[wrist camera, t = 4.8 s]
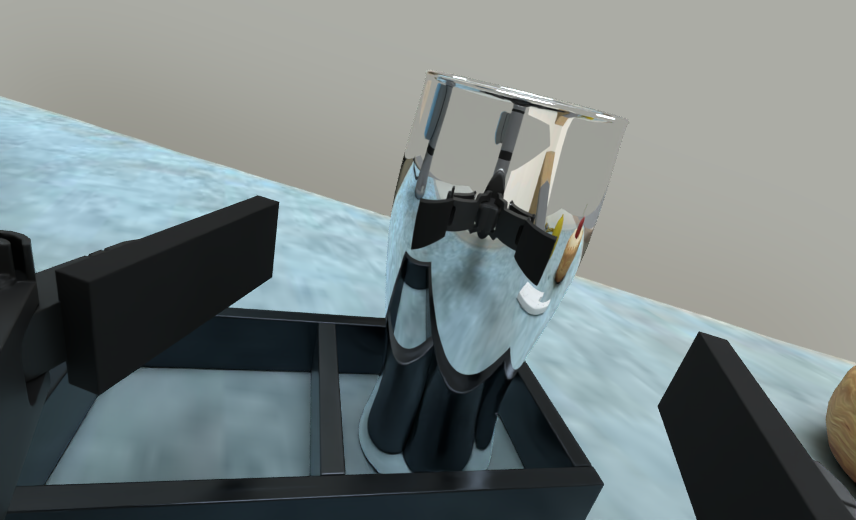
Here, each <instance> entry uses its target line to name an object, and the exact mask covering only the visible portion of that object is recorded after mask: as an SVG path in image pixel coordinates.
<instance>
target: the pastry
mask: <svg viewBox="0 0 856 520" xmlns="http://www.w3.org/2000/svg"><path fill="white" fill-rule="evenodd" d="M826 427H827V436H828V443H829V446H830V449H831V452H832V453H833V455H834V457H835V458H836V460H837V461H838V463H839V464H840V466H841V467H842V469H843V470H844V471H845V472H846V473H847V475H848V476H849V477H850V478H851V479H852V480H853V481H854V482H855V483H856V366H854V367H852V368H851V369H850V370H849V371H848V372H847V374H846V375H845V376H844V378H843V379H842V381H841V382H840V384H839V385H838V386H837V388H836V389H835V390H834V392H833V394H832V396H831V398H830V400H829V403H828V408H827V413H826Z"/></svg>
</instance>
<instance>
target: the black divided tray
mask: <svg viewBox="0 0 856 520" xmlns="http://www.w3.org/2000/svg"><path fill="white" fill-rule="evenodd" d="M384 347H385V318H375V317H360V316H345V315H331V314H316V313H302V312H287V311H272V310H258V309H243V308H229V307H228V308H226V309H225V310H223V311H222V312H220V313H219V314H217V315H216V316H214V317H213V318H211V319H210V320H209V321H207V322H206V323H204V324H203V325H201V326H200V327H198V328H197V329H195V330H194V331H192V332H191V333H190V334H188V335H187V336H185V337H184V338H182V339H181V340H179V341H178V342H176V343H175V344H173V345H172V346H171V347H169V348H168V349H166V350H165V351H163V352H162V353H160V354H159V355H157V356H156V357H154V358H153V359H151V360H150V361H149V362H147V363H146V364H144V365H143V366H151V367H183V368H214V369H246V370H277V371H309V372H311V427H310V476H300V477H271V478H242V479H212V480H183V481H154V482H124V483H95V484H66V485H44V484H45V482H46V481H47V479H48V477H49V476H50V474H51V472H52V471H53V469H54V467H55V466H56V464H57V462H58V461H59V459H60V457H61V456H62V454H63V452H64V451H65V449H66V447H67V446H68V444H69V442H70V441H71V439H72V437H73V435H74V434H75V432H76V430H77V429H78V427H79V425H80V424H81V422H82V420H83V419H84V417H85V415H86V414H87V412H88V410H89V409H90V407H91V405H92V404H93V402H94V400H95V399H96V397H97V395H96V394H94V393H91V392H89V391H86V390H84V389H81V388H79V387H76V386H74V385H71V384H69V382H68V373H67V365H66V361H65V362H63V363H61V364H60V365H58V366H56V367H54V368H53V369H51V370H49V373H50V387H49V390H48V393H47V396H46V399H45V402H44V405H43V408H42V411H41V414H40V417H39V420H38V423H37V426H36V429H35V431H34V434H33V437H32V440H31V443H30V446H29V449H28V452H27V455H26V458H25V461H24V464H23V467H22V470H21V473H20V476H19V479H18V482H17V484H16V487H15V490H14V493H13V496H12V499H11V502H10V505H9V508H8V511H7V514H6V517H5V520H585V519H586V517H587V515H588V514H589V512H590V510H591V508H592V506H593V504H594V502H595V501H596V499H597V497H598V495H599V493H600V491H601V489H602V488H603V486H604V483H603V481H602V480H601V478H600V477H599V475H598V474H597V472H596V470H595V469H594V467H592V465H591V463H590V462H589V460H588V458H587V457H586V455H585V454H584V452H583V451H582V449H581V447H580V446H579V444H578V443H577V441H576V440H575V438H574V437H573V435H572V433H571V432H570V430H569V429H568V427H567V426H566V424H565V422H564V421H563V419H562V418H561V416H560V415H559V413H558V411H557V410H556V408H555V407H554V405H553V404H552V402H551V401H550V399H549V397H548V396H547V394H546V393H545V391H544V390H543V388H542V386H541V385H540V383H539V382H538V380H537V379H536V377H535V375H534V374H533V372H532V371H531V369H530V368H529V366H528V365H527V363H526V361H524V362H523V364H522V365H521V367H520V368H519V370H518V372H517V373H516V375H515V377H514V378H513V380H512V382H511V383H510V385H509V387H508V389H507V391H506V394H505V396H504V398H503V400H502V402H501V405H500V409H499V412H498V413H499V415H500V417H501V419H502V421H503V423H504V426H505V428H506V430H507V432H508V434H509V436H510V438H511V440H512V442H513V444H514V446H515V448H516V450H517V453H518V455H519V457H520V459H521V461H522V463H523V465H524V467H525V469H505V470H476V471H446V472H417V473H388V474H359V475H345V460H344V445H343V431H342V417H341V402H340V388H339V373H338V372H341V373H372V374H380V370H381V366H382V361H383V354H384Z"/></svg>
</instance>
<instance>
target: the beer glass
mask: <svg viewBox="0 0 856 520" xmlns="http://www.w3.org/2000/svg"><path fill="white" fill-rule="evenodd" d="M628 124H629V121H628V119H626V118H623V117H620V116H617V115H613V114H610V113H606V112H602V111H599V110H595V109H591V108H588V107H584V106H580V105H576V104H572V103H569V102H564V101H560V100H557V99H553V98H549V97H545V96H541V95H537V94H533V93H529V92H525V91H521V90H517V89H513V88H509V87H504V86H500V85H497V84H492V83H488V82H484V81H480V80H475V79H471V78H467V77H463V76H458V75H453V74H449V73H445V72H439V71H434V70H427V71H426V78H425V83H424V87H423V90H422V94H421V98H420V101H419V104H418V108H417V111H416V114H415V118H414V121H413V124H412V128H411V131H410V135H409V139H408V142H407V145H406V149H405V153H404V157H403V160H402V165H401V169H400V173H399V178H398V182H397V186H396V191H395V196H394V201H393V207H392V213H391V219H390V225H389V234H388V248H387V261H386V304H385V347H384V354H383V361H382V366H381V370H380V374H379V377H378V379H377V382H376V385H375V387H374V389H373V391H372V393H371V395H370V397H369V399H368V401H367V403H366V405H365V408H364V410H363V412H362V415H361V418H360V421H359V440H360V445H361V448H362V450H363V452H364V454H365V456H366V458H367V459H368V461H369V462H370V464H371V465H372V466H373V467H374V468H375V469H376V470H377V471H378V472H379V473H380V474H388V473H417V472H446V471H476V470H487V468H488V466H489V463H490V459H491V455H492V448H493V440H494V432H495V424H496V420H497V415H498V412H499V409H500V405H501V402H502V400H503V398H504V396H505V394H506V391H507V389H508V387H509V385H510V383H511V382H512V380H513V378H514V377H515V375H516V373H517V372H518V370H519V368H520V367H521V365H522V364H523V362H524V361H525V359H526V358H527V356H528V354H529V353H530V351H531V350H532V348H533V347H534V345H535V344H536V342H537V341H538V339H539V337H540V336H541V334H542V333H543V331H544V329H545V328H546V326H547V325H548V323H549V321H550V320H551V318H552V317H553V315H554V313H555V312H556V310H557V308H558V306H559V304H560V303H561V301H562V299H563V297H564V295H565V294H566V292H567V290H568V288H569V287H570V285H571V283H572V281H573V279H574V276H575V274H576V272H577V269H578V267H579V265H580V262H581V260H582V258H583V256H584V253H585V251H586V249H587V247H588V244H589V241H590V238H591V236H592V233H593V230H594V227H595V225H596V222H597V219H598V216H599V213H600V210H601V207H602V204H603V201H604V198H605V194H606V191H607V188H608V185H609V182H610V178H611V175H612V171H613V168H614V164H615V161H616V158H617V154H618V151H619V147H620V144H621V141H622V138H623V135H624V132H625V130H626V127H627V125H628Z"/></svg>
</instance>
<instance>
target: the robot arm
mask: <svg viewBox="0 0 856 520" xmlns="http://www.w3.org/2000/svg"><path fill="white" fill-rule="evenodd" d="M278 209H279V202H277V201H274V200H271V199H268V198H265V197H261V196H255V197H252V198H250V199H247V200H244V201H242V202H239V203H236V204H233V205H231V206H228V207H225V208H223V209H220V210H217V211H214V212H212V213H209V214H206V215H203V216H201V217H198V218H195V219H193V220H190V221H187V222H184V223H182V224H179V225H176V226H174V227H171V228H168V229H165V230H163V231H160V232H157V233H155V234H152V235H149V236H146V237H144V238H141V239H137V240H131V241H124V242H121V243H118V244H116V245H113V246H110V247H107V248H105V250H104V251H103V250H99V251H96V252H94V253H91V254H89V256H82V257H80V258H77V259H74V260H71V261H69V262H66V263H63V264H60V265H57V266H55V267H52V268H49V269H46V270H44V271H41V272H38V273H35V268H34V261H33V254H32V247H31V240H30V238H28V237H27V236H25V235H24V234H20V233H17V232H13V231H4V230H0V520H5V517H6V514H7V511H8V508H9V505H10V502H11V499H12V496H13V493H14V490H15V487H16V484H17V482H18V479H19V476H20V473H21V470H22V467H23V464H24V461H25V458H26V455H27V452H28V449H29V446H30V443H31V440H32V437H33V434H34V431H35V429H36V426H37V423H38V420H39V417H40V414H41V411H42V408H43V405H44V402H45V399H46V396H47V393H48V390H49V387H50V373H49V370H51V369H53V368H54V367H56V366H58V365H60V364H61V363H63V362H65V361H66V365H67V373H68V382H69V384H71V385H74V386H76V387H79V388H81V389H84V390H86V391H89V392H91V393H94V394H96V395H100V394H102V393H103V392H105V391H106V390H108V389H109V388H110V387H112V386H113V385H115V384H116V383H118V382H119V381H121V380H122V379H124V378H125V377H127V376H128V375H130V374H131V373H132V372H134V371H135V370H137V369H138V368H140V367H141V366H143V365H144V364H146V363H147V362H149V361H150V360H151V359H153V358H154V357H156V356H157V355H159V354H160V353H162V352H163V351H165V350H166V349H168V348H169V347H171V346H172V345H173V344H175V343H176V342H178V341H179V340H181V339H182V338H184V337H185V336H187V335H188V334H190V333H191V332H192V331H194V330H195V329H197V328H198V327H200V326H201V325H203V324H204V323H206V322H207V321H209V320H210V319H211V318H213V317H214V316H216V315H217V314H219V313H220V312H222V311H223V310H225V309H226V308H228V307H229V306H231V305H232V304H233V303H235V302H236V301H238V300H239V299H241V298H242V297H244V296H245V295H247V294H248V293H250V292H251V291H252V290H254V289H255V288H257V287H258V286H260V285H261V284H263V283H264V282H266V281H267V280H269V279H270V278H272V273H273V262H274V252H275V241H276V230H277V220H278ZM658 409H659V412H660V415H661V417H662V420H663V423H664V426H665V429H666V432H667V435H668V438H669V441H670V443H671V446H672V449H673V452H674V455H675V458H676V461H677V464H678V467H679V469H680V472H681V475H682V478H683V481H684V484H685V487H686V490H687V493H688V496H689V498H690V501H691V504H692V507H693V510H694V513H695V516H696V519H697V520H856V500H855V499H854V498H853V496H852V495H851V494H850V492H849V491H848V490H847V488H846V487H845V486H844V484H843V483H841V482H840V481H839V480H838V479H837V478H836V477H835V476H834V475H833V474H832V473H831V472H829V471H828V470H827V469H826V468H825V467H824V466H823V465H822V464H821V463H820V462H818V461H815V460H812V458H811V457H810V455H809V454H808V453H807V451H806V450H805V448H804V447H803V446H802V444H801V443H800V441H799V440H798V439H797V437H796V436H795V434H794V433H793V432H792V430H791V429H790V427H789V426H788V425H787V423H786V422H785V420H784V419H783V418H782V416H781V415H780V413H779V412H778V411H777V409H776V408H775V406H774V405H773V404H772V402H771V401H770V399H769V398H768V397H767V395H766V394H765V392H764V391H763V390H762V388H761V387H760V385H759V384H758V383H757V381H756V380H755V378H754V377H753V376H752V374H751V373H750V371H749V370H748V369H747V367H746V366H745V364H744V363H743V362H742V360H741V359H740V357H739V356H738V355H737V353H736V352H735V350H734V349H733V348H732V346H731V345H730V343H729V342H728V341H727V340H725V339H722V338H719V337H715V336H712V335H709V334H706V333H702V332H698V334H697V336H696V338H695V339H694V341H693V343H692V345H691V347H690V348H689V350H688V352H687V354H686V356H685V358H684V359H683V361H682V363H681V365H680V367H679V368H678V370H677V372H676V374H675V376H674V377H673V379H672V381H671V383H670V385H669V386H668V388H667V390H666V392H665V394H664V396H663V397H662V399H661V401H660V403H659V405H658Z"/></svg>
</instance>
